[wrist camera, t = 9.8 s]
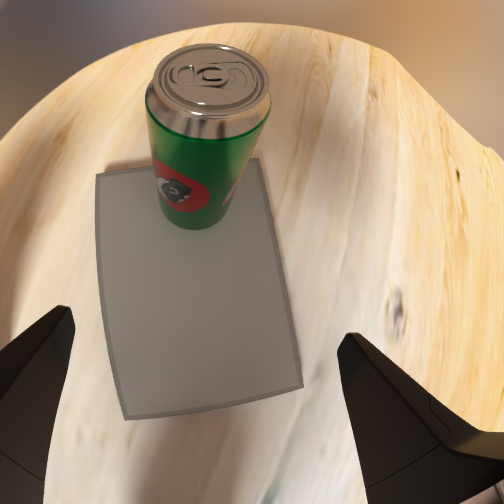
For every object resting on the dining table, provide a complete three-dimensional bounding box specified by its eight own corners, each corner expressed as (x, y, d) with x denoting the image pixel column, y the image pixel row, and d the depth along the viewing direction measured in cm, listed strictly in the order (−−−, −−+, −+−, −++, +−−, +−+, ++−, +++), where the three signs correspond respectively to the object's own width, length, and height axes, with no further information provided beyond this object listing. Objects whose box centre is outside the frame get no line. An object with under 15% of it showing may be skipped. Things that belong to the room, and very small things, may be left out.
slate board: (297, 384, 20) (304, 387, 19) (127, 415, 17) (124, 421, 16) (255, 165, 24) (259, 157, 22) (99, 181, 20) (95, 173, 19)
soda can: (232, 230, 20) (291, 126, 9) (161, 235, 19) (137, 128, 8) (225, 167, 21) (267, 42, 10) (159, 171, 20) (149, 39, 9)
